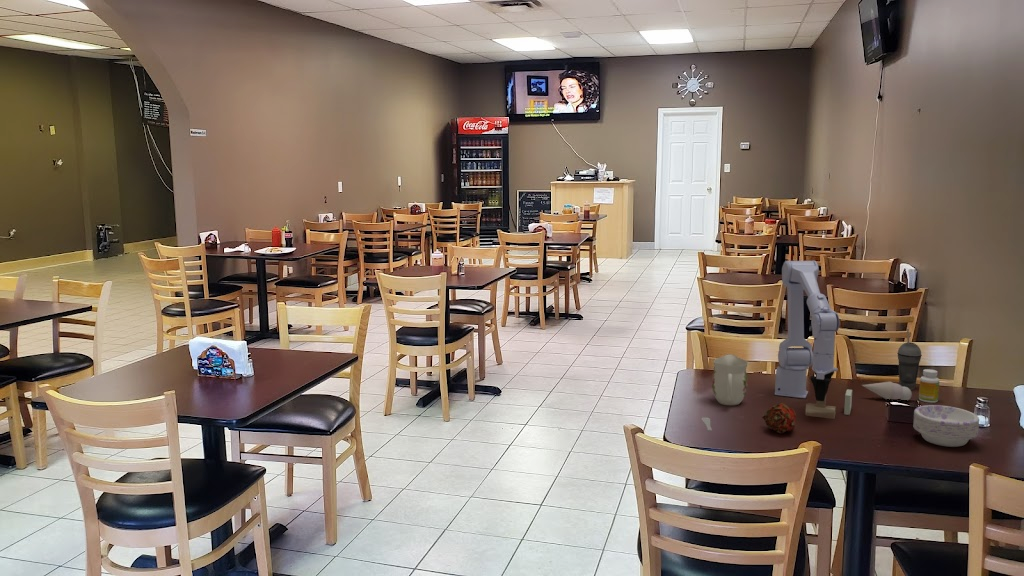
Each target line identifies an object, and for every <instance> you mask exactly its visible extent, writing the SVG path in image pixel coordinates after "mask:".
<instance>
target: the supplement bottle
mask: <svg viewBox="0 0 1024 576" xmlns="http://www.w3.org/2000/svg"><path fill="white" fill-rule="evenodd" d="M938 372H939V371H937V370H935V369H932V368H931V369H930V368H929V369H928V368H927V369H926V368H925V369H923V370H922V374H923V375H922V376H921V377H920V378H919V391H918V399H919V401H921V402H924V403H929V404H930V403H931V404H933V403H938V401H939V392H940V378H939V377H938Z"/></svg>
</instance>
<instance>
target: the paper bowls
mask: <svg viewBox="0 0 1024 576" xmlns="http://www.w3.org/2000/svg"><path fill="white" fill-rule="evenodd" d="M979 422H980V418H979V416H978V415H977V414H976V413H974V412H971V411H969V410H966V409H963V408H959V407H954V406H949V405H940V404H935V405H934V404H926V405H921V406H918V407H916V408H915V409H914V411H913V424H912V426H913V429H914V430H915V431H916V432H919V433H920V435H921V437H922V438H923V439H924V440H925V441H926V442H928V443H930V444H933V445H936V446H939V447H940V446H941V447H947V448H949V447H950V448H958V447H962V446H965V445H966V444H967V443H968V442H969V440H973V439H976V438H977V437H978V436H979V425H980V423H979Z"/></svg>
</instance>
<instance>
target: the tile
mask: <svg viewBox="0 0 1024 576" xmlns="http://www.w3.org/2000/svg"><path fill="white" fill-rule="evenodd" d="M852 397H853V389H846V391H845V394H844V407H843V408H844V411H843V415H847V416H850V415H851V410H852V404H853V403H852V399H853V398H852Z"/></svg>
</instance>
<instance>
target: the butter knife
mask: <svg viewBox="0 0 1024 576" xmlns="http://www.w3.org/2000/svg"><path fill="white" fill-rule="evenodd" d="M701 421H702V422H703V424H704V425H705V427H706V429H707V431H713V428H712V427H711V418H710V417H701Z"/></svg>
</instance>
